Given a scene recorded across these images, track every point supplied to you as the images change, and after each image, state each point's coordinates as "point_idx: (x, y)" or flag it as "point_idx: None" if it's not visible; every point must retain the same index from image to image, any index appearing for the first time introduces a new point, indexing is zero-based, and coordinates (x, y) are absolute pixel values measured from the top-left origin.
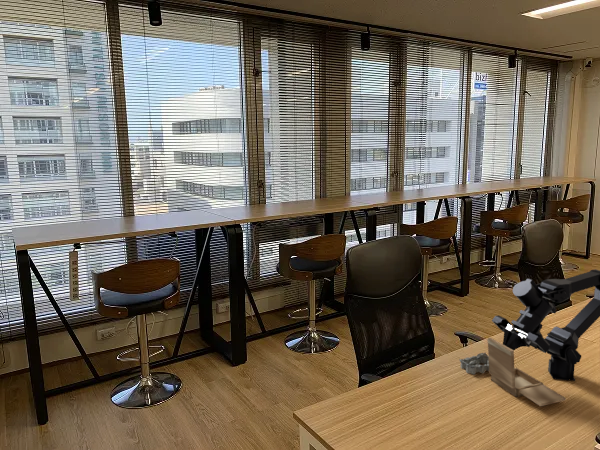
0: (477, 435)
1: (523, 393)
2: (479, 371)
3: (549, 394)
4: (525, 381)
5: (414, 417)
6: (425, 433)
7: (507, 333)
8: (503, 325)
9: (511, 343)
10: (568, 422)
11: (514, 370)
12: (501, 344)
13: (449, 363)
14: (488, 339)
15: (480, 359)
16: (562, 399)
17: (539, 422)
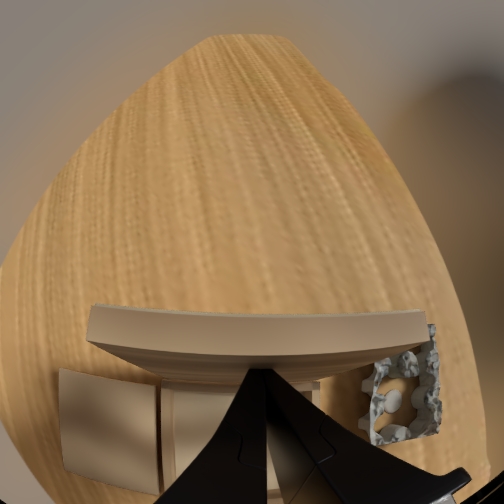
0: (99, 152)
1: (132, 382)
2: (372, 375)
3: (92, 450)
4: None
5: (213, 96)
6: (163, 92)
7: (354, 488)
8: (497, 500)
9: (211, 443)
10: (20, 385)
11: (146, 369)
12: (261, 340)
13: (435, 310)
14: (412, 313)
15: (425, 413)
16: (64, 457)
17: (45, 317)
